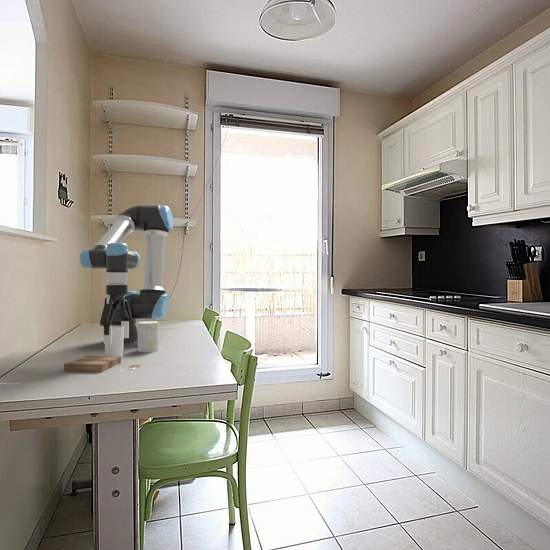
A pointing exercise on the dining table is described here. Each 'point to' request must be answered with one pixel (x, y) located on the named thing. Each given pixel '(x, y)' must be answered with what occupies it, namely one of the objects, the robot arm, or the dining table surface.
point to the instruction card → (131, 367)
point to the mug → (115, 343)
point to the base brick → (92, 364)
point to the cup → (148, 336)
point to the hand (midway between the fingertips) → (116, 340)
